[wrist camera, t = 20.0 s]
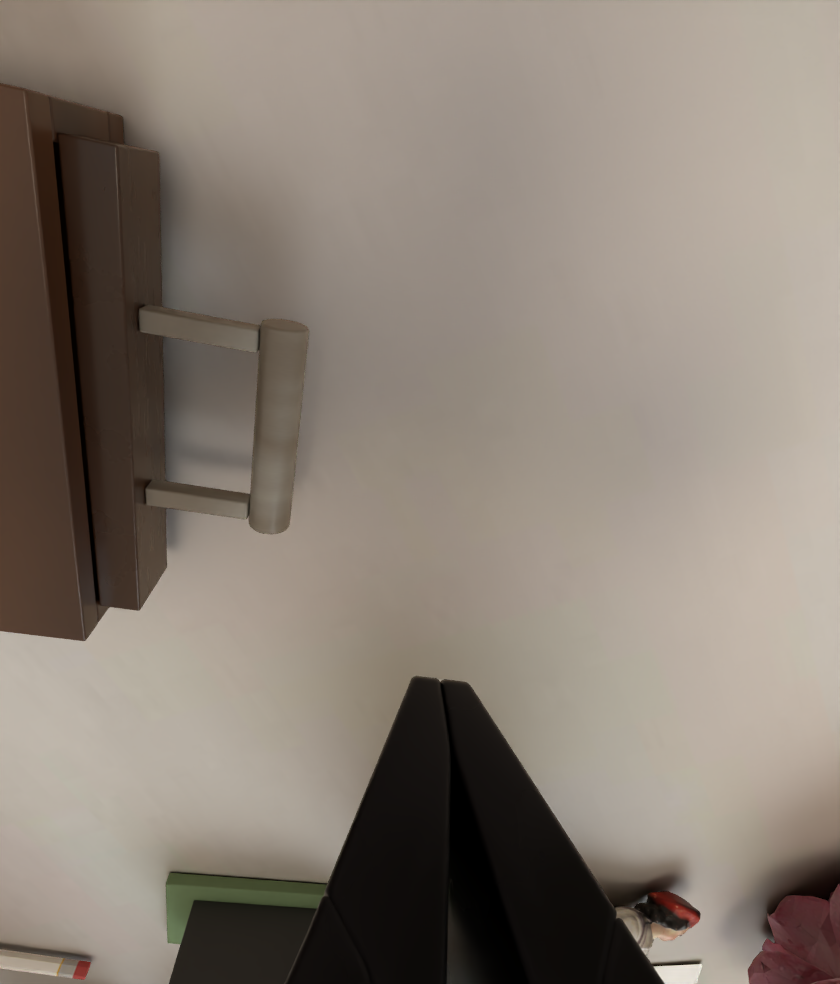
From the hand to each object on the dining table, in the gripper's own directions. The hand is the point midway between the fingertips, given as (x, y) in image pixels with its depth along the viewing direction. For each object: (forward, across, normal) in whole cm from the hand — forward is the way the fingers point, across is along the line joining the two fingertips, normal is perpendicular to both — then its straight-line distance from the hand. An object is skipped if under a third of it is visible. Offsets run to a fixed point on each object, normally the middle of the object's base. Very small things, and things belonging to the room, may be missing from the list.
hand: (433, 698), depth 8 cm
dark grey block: (+10, +3, +30) cm, 31 cm away
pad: (+11, +4, +30) cm, 32 cm away
